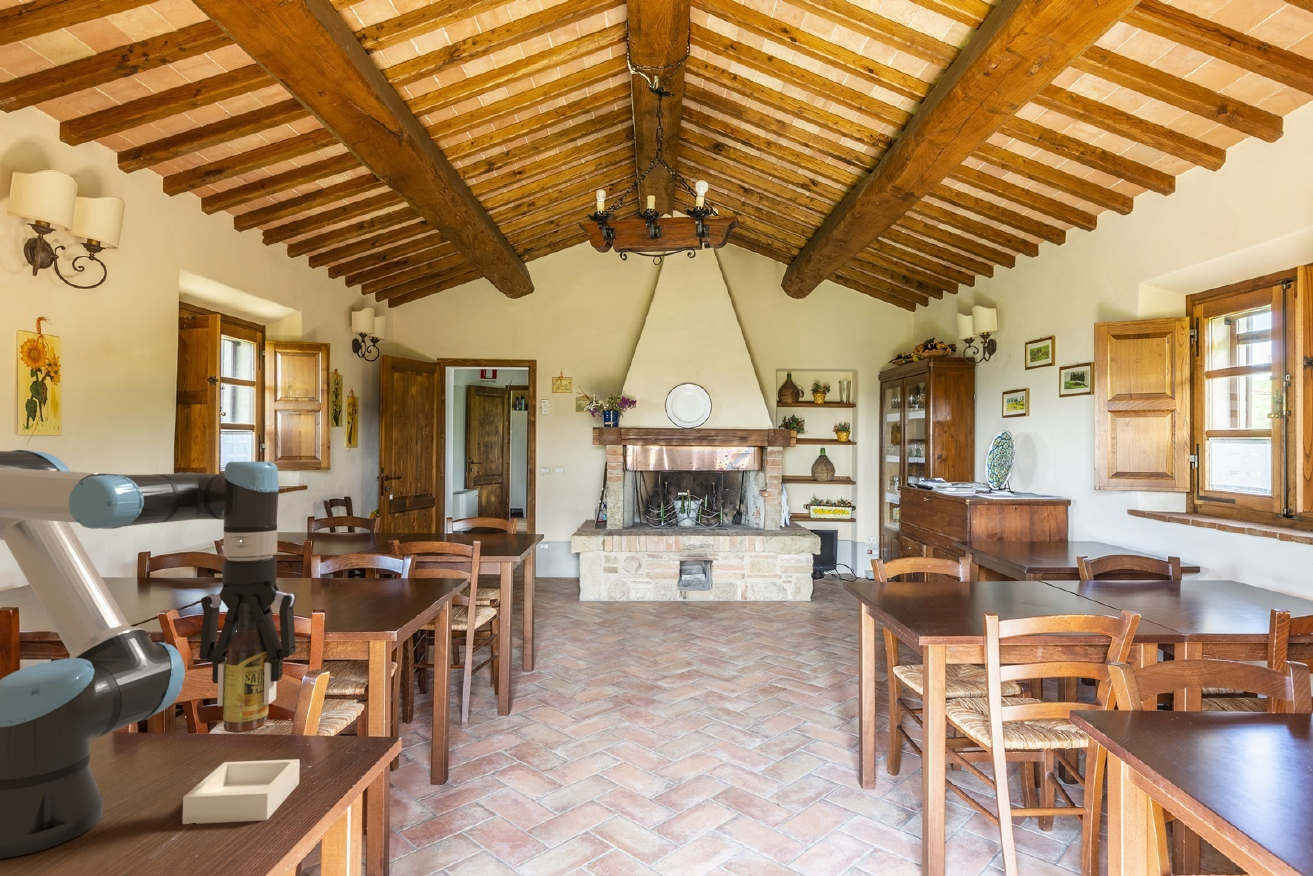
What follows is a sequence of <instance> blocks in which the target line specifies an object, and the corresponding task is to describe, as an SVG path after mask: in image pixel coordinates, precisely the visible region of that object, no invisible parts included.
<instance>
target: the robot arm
mask: <svg viewBox="0 0 1313 876" xmlns="http://www.w3.org/2000/svg"><path fill="white" fill-rule="evenodd" d="M278 470H279V469H278V466H277V464H275V463H274V462H272V461H228V462H227V463H226V464H225V466H224V472H223V473H210V472H209V473H205V472H200V473H199V472H177V473H159V474H158V473H157V474H155V473H154V474H119V473H99V472H97V473H95V472H81V471H80V472H79V471H70V469H69V467H68V466H67V465H66V464H65V463H64V462H63V460H61V459H60V458H58V457H57V456H55V455H53V454H50V453H48V452H44V451H33V450H28V449H15V450H14V449H13V450H9V451H8V450H4V451H3V450H0V541H2V540H3V541H4V542H5V543H6V546H7V547H8V550H9V551H10V552H11V554H12V556H13V557H14V559H15V562H16V563H17V564H18V567H19V568H20V570H21V572H22V574H23V575H24V577H25V579H26V580H27V582H28V584H29V586H30V587H31V589H32V591H33V592H34V594H35V596H36V599H37V600H38V602H39V603H40V604H41V607H42V609H43V610H44V612H45V613H46V616H47V617H48V619H49V620H50V623H51V625H53V628H54V630H55V632H56V633H57V635H58V636H59V638H60V640H61V642H62V643H63V645H64V646H65V648H66V650H67V652H68V654H69V658H61V659H60V658H59V659H55V660H54V659H53V660H52V661H48V662H41V663H37V664H33V665H30V666H26V667H23V668H21V669H19V670H16V671H14V672H12V673H9V674H8V675H6V676H4V677H2V678H1V679H0V859H1V860H3V859H9V858H14V857H20V856H21V857H22V856H24V855H30V854H34V853H38V852H40V851H43V850H47V849H50V848H53V847H56V846H59V845H60V843H61V844H63V842H64V843H66V842H68V841H70V840H73V839H74V838H77V837H79V836H81V835H83V834H84V833H86V832H87V831H89V830H90V829H92V828H93V827H95V826H96V825H97V824H98V823H100V822H101V820H102V818H103V815H104V798H103V795H102V794H101V792H100V790H99V786H98V783H97V781H96V778H95V776H94V774H93V773H94V772H93V771H92V768H91V764H90V763H91V741H93V740H95V739H97V738H100V737H102V736H105V735H108V734H110V733H112V732H115V731H118V730H120V729H122V728H126V727H128V726H130V725H132V724H135V723H138V722H142V721H145V720H148V719H150V718H152V717H153V716H154V715H157V714H159V713H160V712H163V711H164V710H166V709H168V708H169V707H170V706H171V705H173V703H174V702H176V700H177V699H178V697H179V695H180V694H181V691H182V689H183V682H184V680H185V674H186V673H185V664H184V660H183V657H182V655H181V653H180V652H179V650H178V649H177V648H176V647H175V646H174V645H172V644H167V643H166V642H161V641H158V642H153V641H152V639H151V637H150V636H149V634H148V632H147V630H146V629H145V628H142V627H137V626H131V625H130V624H129V622H128V620H127V619H126V617H125V615H124V613H123V612H122V610H121V609H120V607H119V605H118V603H117V602H116V600H115V599H114V597H113V595H112V593H111V591H110V590H109V588H108V587H107V585H106V583H105V581H104V580H103V578H102V577H101V575H100V573H99V571H98V570H97V568H96V567H95V564H94V563H93V561H92V560H91V558H90V556H89V554H88V553H87V552H86V549H85V548H84V546H83V544H82V543H81V541H80V540H79V538H78V536H77V534H76V533H75V531H74V529H73V527H72V526H71V524H70V523H78V524H80V525H81V526H82V527H83V528H87V529H92V530H93V529H101V530H102V529H103V530H107V529H108V530H109V529H110V530H112V529H119V528H123V527H130V526H131V527H132V526H138V525H139V526H140V525H148V524H149V525H150V524H160V523H161V524H164V523H174V522H181V521H192V520H193V521H194V520H221V521H223V549H222V552H223V553H222V556H224V557H225V558H227V559H225V560H224V561H222V588H221V590H220V592H219V593H216V594H215V593H211V594H209V595H207V596H203V597H202V598H201V599H200V603H201V608H202V610H203V611H202V612H203V617H202V626H201V635H200V642H199V643H200V645H199V654H198V657H199V660H201V661H204V660H206V661H209V662H211V664H212V674H211V675H212V683H213V684H217V705H216V706H217V707H224V692H225V671H226V662H227V649H228V645H229V643H230V641H231V639H232V638H233V637H234V635H235V633H236V632H237V630H236V626H237V617H239V612H238V611H237V610H238V608H239V605H240V603H249V605H250V607H251V608H252V611H253V614H254V617H255V620H256V622H257V623H258V624H259V628H260V631H261V634H262V637H263V640H264V643H265V646H266V649H267V652H268V655H269V658H270V660H269V661H267V662H266V663H265V666H264V705H267V704H271V703H273V702H274V701H275V700H276V699H277V682H279V681H280V680H282V678H283V669H284V668H283V666H284V665H283V664H284V659H286V658H289V657H290V656H291V655H293V654H294V653H295V652H296V651H297V650H296V649H297V648H296V647H297V646H296V632H295V630H296V629H295V614H294V606H295V603H296V600H297V594H296V593H295V592H291V593H286V592H282V591H280V590H279V587H278V586H277V577H278V576H277V573H278V572H277V570H278V569H277V568H278V567H277V566H278V565H277V564H278V559H277V558H276V557H275V556H274V555H276V554H277V553H278V508H279V507H278V506H279V490H280V485H279V471H278ZM275 600H276V601H277V606H278V607H279V610H278V611H279V612H278V613H279V614H278V617H279V631H280V637H279V633H278V631H277V628H276V627H277V626H276V624H275V622H274V621H275V620H274V618H273V616H274V615H273V614H274V613H273V609H272V606H271V605H272V604H273V603H274V602H275ZM222 602H223V603H224V605H225V606H226V608H227V612H226V615H225V617H224V623H223V626H222V629H221V632H220V634H219V637H218V629H219V619H220V606H221V605H222ZM263 613H264V614H263ZM217 637H218V640H217Z"/></svg>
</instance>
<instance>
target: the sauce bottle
mask: <svg viewBox="0 0 1313 876" xmlns="http://www.w3.org/2000/svg"><path fill="white" fill-rule="evenodd" d="M237 611H238V612H239V617H237V626H236V633H235V635H234V637H233V638H232V639H231V641H230V643H229V645H228V649H227V658H226V660H227V662H226V671H225V692H224V705H223V714H222V719H223V720H224V723H223V729H224V731H225V732H227V733H234V734H239V733H240V734H241V733H246V732H252V731H255V730H257V729H260V728H262V727H264V725H265V724H266V723H267V721H268V715H269V710H270V709H269V706H270V705H269V704H267V705H264V666H265V663H266V662H267V661H269V660H270V658H269V655H268V652H267V649H266V646H265V643H264V640H263V637H262V634H261V631H260V628H259V624H258V623H257V622H256V620H255V617H254V614H253V611H252V608H251V607H250V605H249V603H240V605H239V608H238V610H237ZM263 614H264V613H263Z"/></svg>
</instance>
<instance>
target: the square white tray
mask: <svg viewBox="0 0 1313 876" xmlns="http://www.w3.org/2000/svg"><path fill="white" fill-rule="evenodd" d="M300 763H301V762H300V759H297V758H296V759H276V760H275V759H273V760H270V759H269V760H248V761H247V760H246V761H224V762H223V763H222V764H221V765H219V766H218V767H217V768H215V769H214V771H212V772H211V773H210V774H208V775H207V776H206V777H205V778H204V779H203V780H202V781H200V782H199V783H198V784H196V785H195V786H194V787H193V788H192V789H191V790H190V791H189V792H187V793H186V794H185V795H184V796H182V797H183V798H182V825H192V823H196V825H197V824H213V823H215V824H216V823H217V824H218V823H232V822H233V823H234V822H235V823H236V822H237V823H238V822H239V823H240V822H256V821H257V822H258V821H262V822H263V821H268V820H269V818H270V817H271V816H272V815H273V814H274V813H275V812H276V810H277V809H278V808H279V807H280V806H281V805H282V804H283V803H284V802H285V800H286V799H287V798H288V797H289V796H290V795H291V793H292V792H293V791H294V790H295V789H296V788H297V786H298V785H299V784H300ZM190 823H191V824H190Z"/></svg>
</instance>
